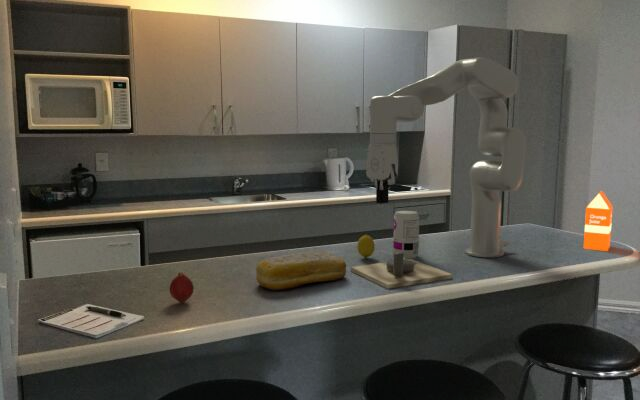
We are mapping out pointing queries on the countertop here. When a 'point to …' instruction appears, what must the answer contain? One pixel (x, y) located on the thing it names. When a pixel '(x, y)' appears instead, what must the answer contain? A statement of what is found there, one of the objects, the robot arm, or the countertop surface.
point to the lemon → (366, 246)
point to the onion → (181, 288)
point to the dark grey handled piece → (400, 265)
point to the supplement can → (406, 233)
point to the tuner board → (387, 280)
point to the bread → (299, 270)
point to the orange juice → (598, 223)
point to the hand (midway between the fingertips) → (382, 202)
